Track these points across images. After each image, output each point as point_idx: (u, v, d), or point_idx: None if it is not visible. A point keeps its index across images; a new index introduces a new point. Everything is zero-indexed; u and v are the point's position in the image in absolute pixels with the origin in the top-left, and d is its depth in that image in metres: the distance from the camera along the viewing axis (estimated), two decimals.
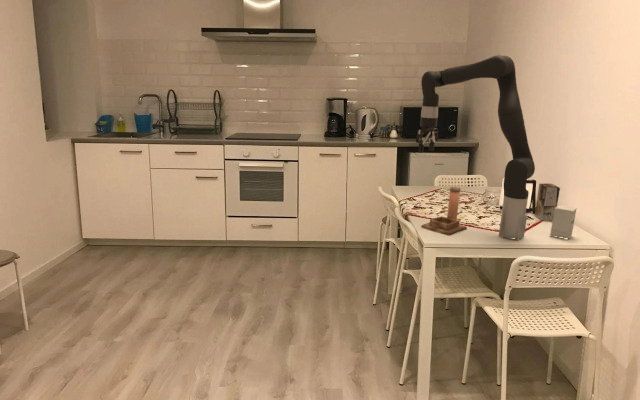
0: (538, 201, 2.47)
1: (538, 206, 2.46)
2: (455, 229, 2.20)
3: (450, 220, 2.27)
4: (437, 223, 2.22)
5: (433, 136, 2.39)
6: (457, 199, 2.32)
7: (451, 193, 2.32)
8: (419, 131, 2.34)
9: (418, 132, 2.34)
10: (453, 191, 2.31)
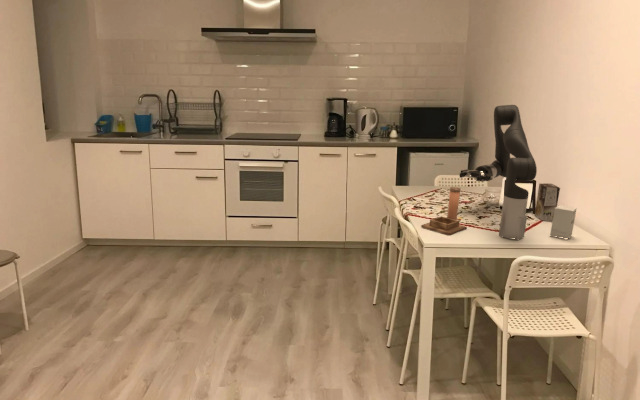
0: (538, 201, 2.47)
1: (538, 206, 2.46)
2: (455, 229, 2.20)
3: (450, 220, 2.27)
4: (437, 223, 2.22)
5: (481, 172, 2.43)
6: (457, 199, 2.32)
7: (451, 193, 2.32)
8: None
9: None
10: (453, 191, 2.31)
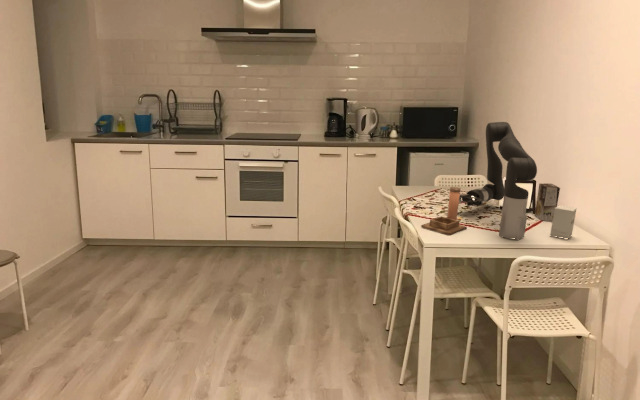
0: (538, 201, 2.47)
1: (538, 206, 2.46)
2: (455, 229, 2.20)
3: (450, 220, 2.27)
4: (437, 223, 2.22)
5: (472, 197, 2.41)
6: (457, 199, 2.32)
7: (451, 193, 2.32)
8: None
9: None
10: (453, 191, 2.31)
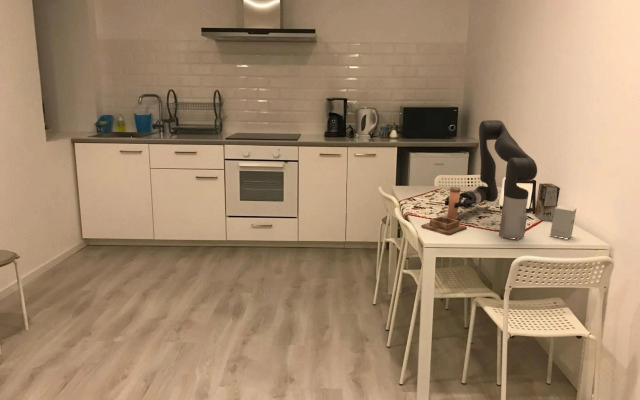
0: (538, 201, 2.47)
1: (538, 206, 2.46)
2: (455, 229, 2.20)
3: (450, 220, 2.27)
4: (437, 223, 2.22)
5: (462, 199, 2.37)
6: (457, 199, 2.32)
7: (451, 193, 2.32)
8: None
9: None
10: (453, 191, 2.31)
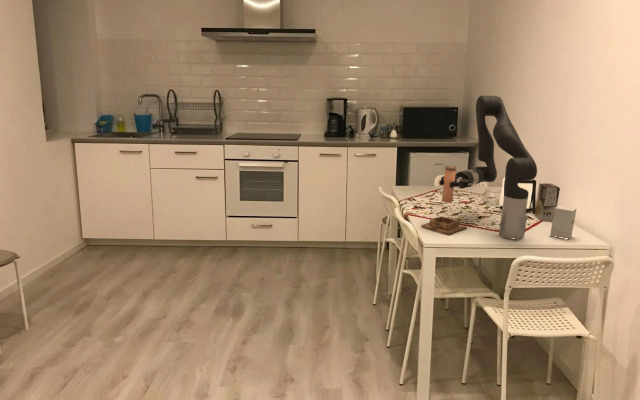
0: (538, 201, 2.47)
1: (538, 206, 2.46)
2: (455, 229, 2.20)
3: (450, 220, 2.27)
4: (437, 223, 2.22)
5: (459, 178, 2.23)
6: (453, 178, 2.18)
7: (446, 172, 2.18)
8: None
9: None
10: (448, 169, 2.17)
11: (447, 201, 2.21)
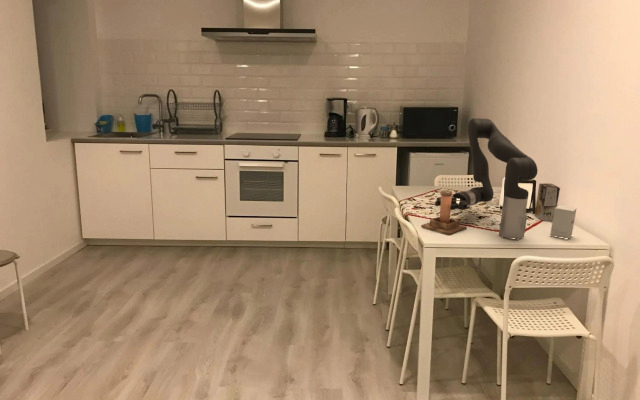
0: (538, 201, 2.47)
1: (538, 206, 2.46)
2: (455, 229, 2.20)
3: (450, 220, 2.27)
4: (437, 223, 2.22)
5: (457, 200, 2.24)
6: (449, 203, 2.20)
7: (442, 197, 2.20)
8: None
9: None
10: (444, 195, 2.19)
11: None
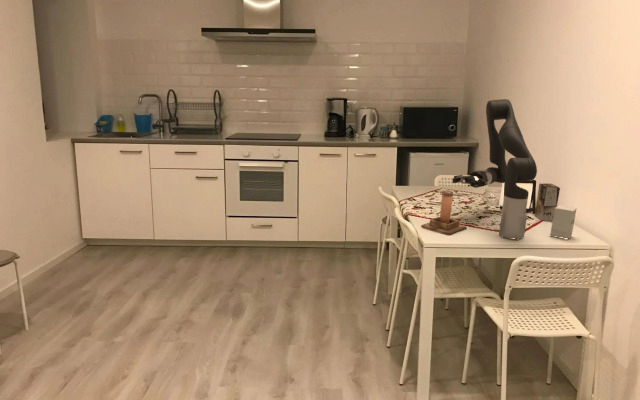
0: (538, 201, 2.47)
1: (538, 206, 2.46)
2: (455, 229, 2.20)
3: (450, 220, 2.27)
4: (437, 223, 2.22)
5: (475, 177, 2.31)
6: (450, 203, 2.21)
7: (443, 197, 2.20)
8: None
9: None
10: (445, 195, 2.20)
11: None
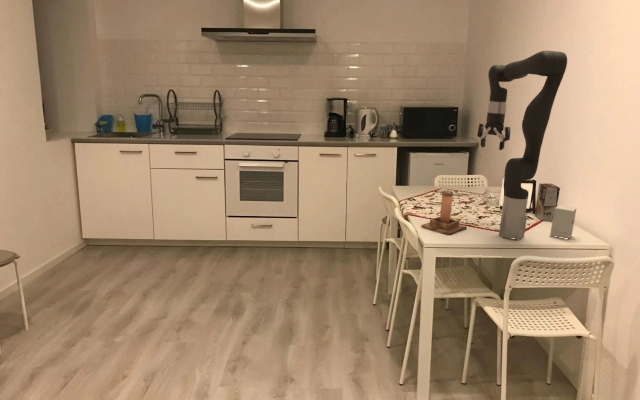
0: (538, 201, 2.47)
1: (538, 206, 2.46)
2: (455, 229, 2.20)
3: (450, 220, 2.27)
4: (437, 223, 2.22)
5: (496, 133, 2.28)
6: (450, 203, 2.21)
7: (443, 197, 2.20)
8: None
9: None
10: (445, 195, 2.20)
11: None
